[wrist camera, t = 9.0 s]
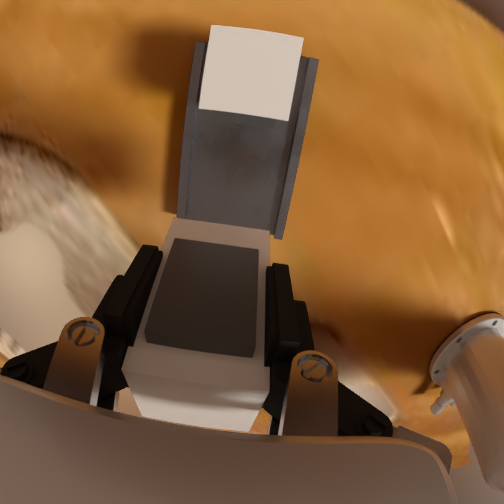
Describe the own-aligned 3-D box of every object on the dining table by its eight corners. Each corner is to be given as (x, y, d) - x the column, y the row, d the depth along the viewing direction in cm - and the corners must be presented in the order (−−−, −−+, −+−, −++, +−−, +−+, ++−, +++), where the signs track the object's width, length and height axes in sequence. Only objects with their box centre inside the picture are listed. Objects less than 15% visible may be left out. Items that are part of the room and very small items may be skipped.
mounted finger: (276, 119, 19) (285, 134, 13) (216, 110, 19) (196, 121, 13) (288, 54, 17) (303, 37, 11) (226, 45, 17) (211, 24, 11)
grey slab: (281, 230, 25) (283, 239, 23) (179, 215, 24) (174, 224, 23) (316, 61, 18) (320, 59, 17) (198, 44, 18) (194, 41, 16)
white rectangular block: (254, 294, 16) (248, 431, 10) (175, 283, 15) (142, 416, 10) (272, 218, 13) (274, 381, 7) (173, 205, 12) (117, 358, 7)
